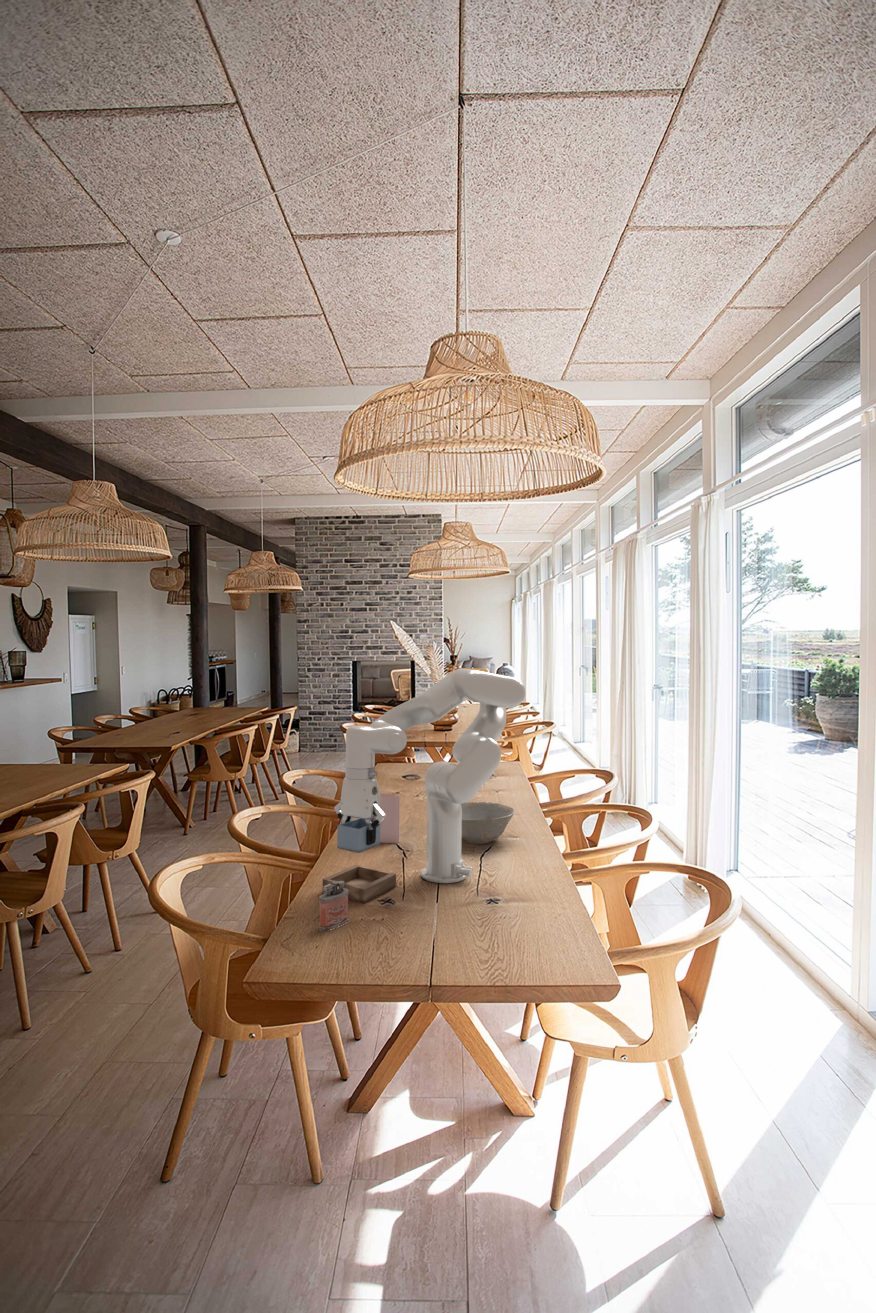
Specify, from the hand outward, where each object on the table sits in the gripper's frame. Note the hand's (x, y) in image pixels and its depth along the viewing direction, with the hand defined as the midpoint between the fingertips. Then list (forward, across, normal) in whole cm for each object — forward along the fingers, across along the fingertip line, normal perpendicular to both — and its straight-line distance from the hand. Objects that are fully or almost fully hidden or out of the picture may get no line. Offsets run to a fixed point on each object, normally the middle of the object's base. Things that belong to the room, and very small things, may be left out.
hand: (359, 840), depth 187 cm
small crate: (+1, 0, 0) cm, 1 cm away
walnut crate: (+13, 0, 0) cm, 13 cm away
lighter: (+13, -9, +21) cm, 26 cm away
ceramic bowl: (+13, -5, -56) cm, 58 cm away
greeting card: (+13, +21, -37) cm, 45 cm away
